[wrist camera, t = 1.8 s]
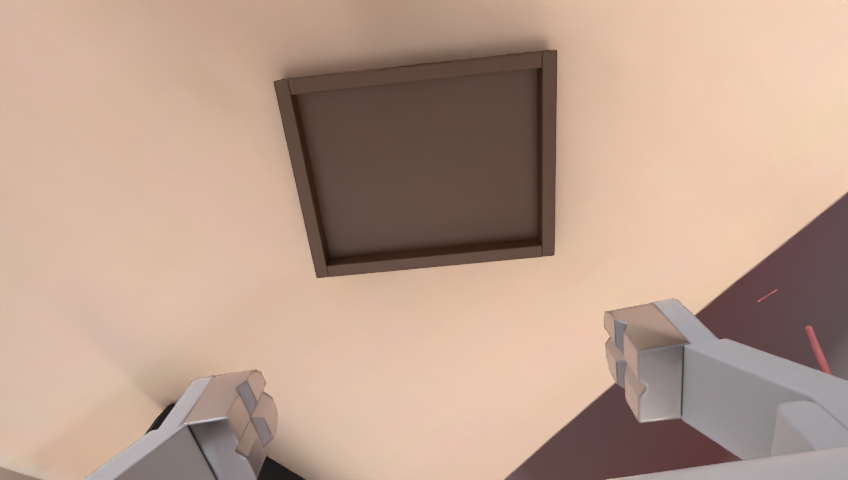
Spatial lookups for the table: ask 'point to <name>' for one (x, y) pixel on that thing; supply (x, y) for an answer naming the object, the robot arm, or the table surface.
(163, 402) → the table surface
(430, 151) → the walnut tray
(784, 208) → the table surface
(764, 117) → the table surface
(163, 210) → the table surface
